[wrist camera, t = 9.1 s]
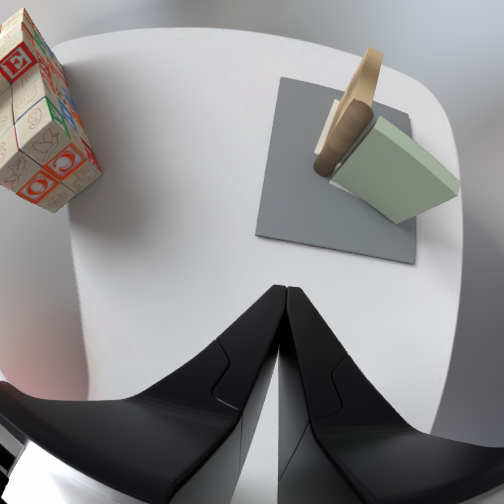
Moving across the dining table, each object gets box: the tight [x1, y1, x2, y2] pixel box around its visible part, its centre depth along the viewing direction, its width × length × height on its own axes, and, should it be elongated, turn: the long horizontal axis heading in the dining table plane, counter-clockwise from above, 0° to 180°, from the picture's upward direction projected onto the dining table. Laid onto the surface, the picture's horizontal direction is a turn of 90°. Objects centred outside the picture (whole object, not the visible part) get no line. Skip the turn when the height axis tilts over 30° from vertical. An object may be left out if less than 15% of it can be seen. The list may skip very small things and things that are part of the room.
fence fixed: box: [313, 47, 383, 176], centre depth 18 cm, size 9×2×8 cm, turn 157°
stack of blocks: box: [0, 8, 103, 213], centre depth 16 cm, size 21×6×12 cm, turn 34°
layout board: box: [255, 77, 416, 264], centre depth 23 cm, size 16×14×1 cm
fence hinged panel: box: [332, 116, 460, 224], centre depth 18 cm, size 7×1×8 cm, turn 58°
